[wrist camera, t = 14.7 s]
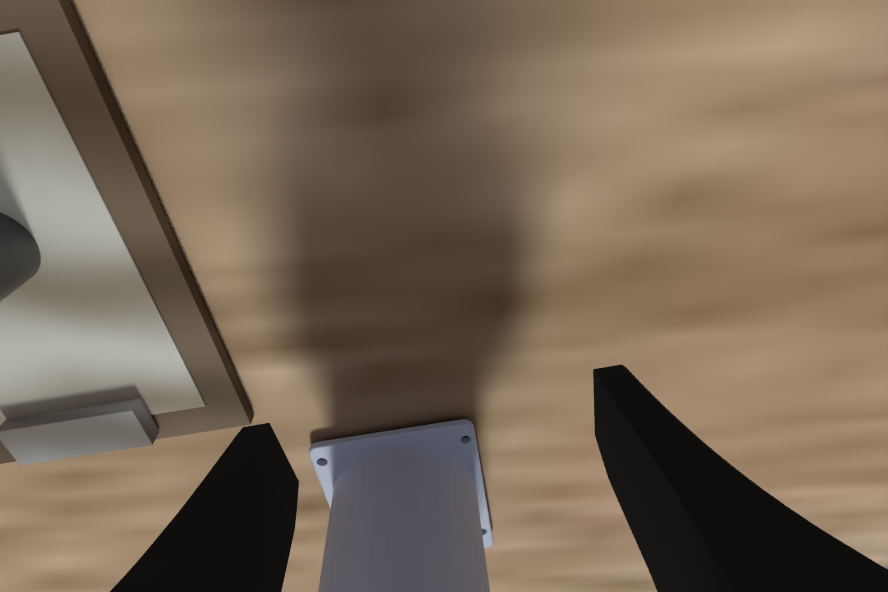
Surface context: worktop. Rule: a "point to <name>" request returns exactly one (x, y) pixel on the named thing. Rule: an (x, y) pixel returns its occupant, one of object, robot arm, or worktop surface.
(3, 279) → the marker
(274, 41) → the worktop surface
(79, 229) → the clipboard
